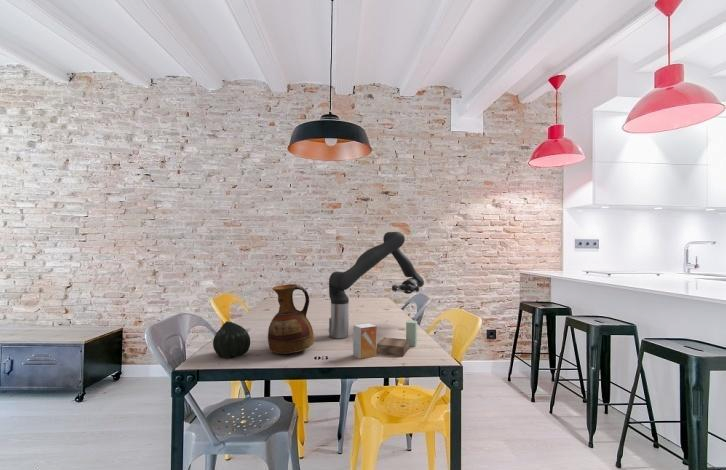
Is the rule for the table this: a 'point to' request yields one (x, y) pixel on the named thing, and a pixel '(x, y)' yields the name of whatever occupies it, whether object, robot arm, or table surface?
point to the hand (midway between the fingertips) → (402, 290)
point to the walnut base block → (393, 346)
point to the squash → (231, 340)
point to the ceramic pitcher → (290, 323)
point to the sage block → (411, 332)
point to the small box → (364, 340)
